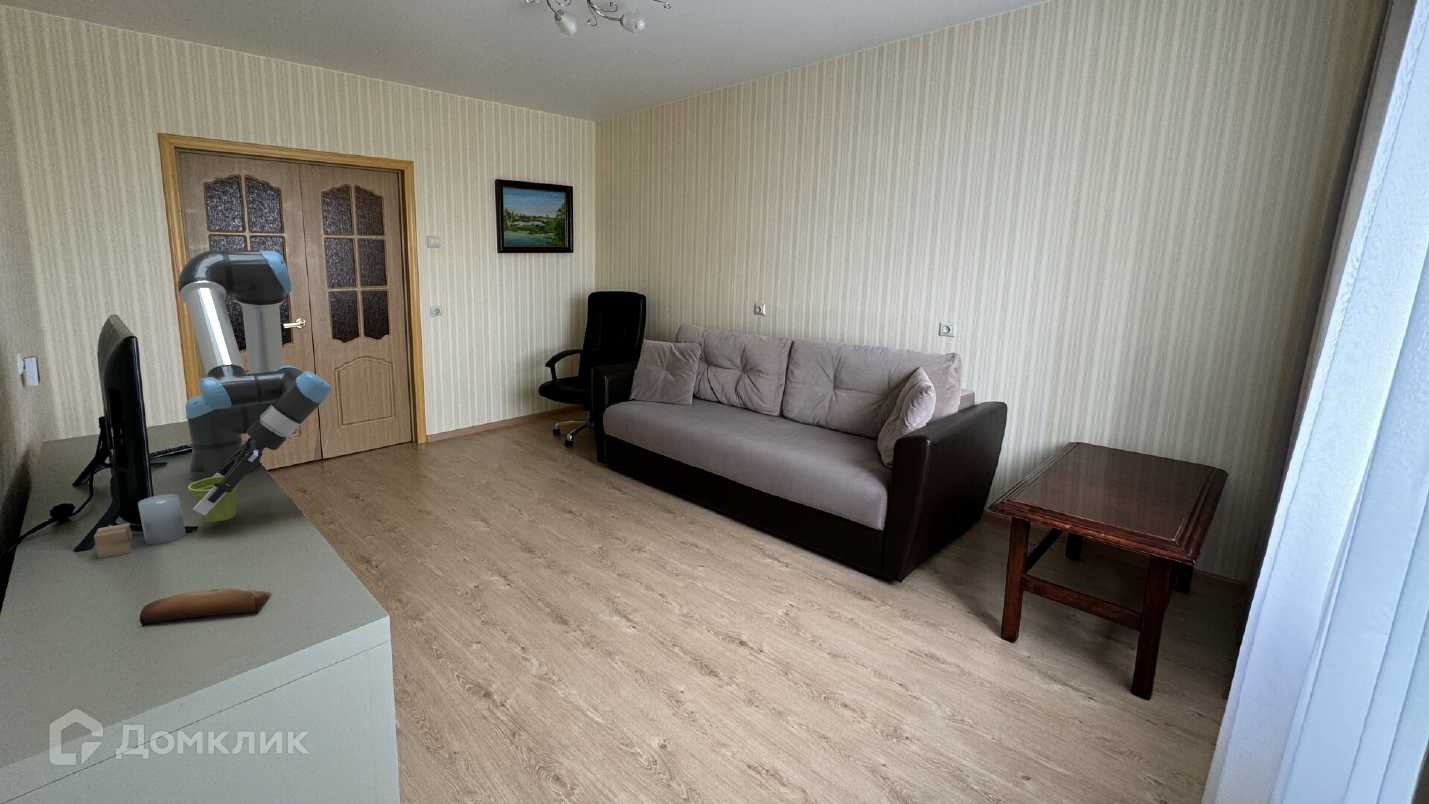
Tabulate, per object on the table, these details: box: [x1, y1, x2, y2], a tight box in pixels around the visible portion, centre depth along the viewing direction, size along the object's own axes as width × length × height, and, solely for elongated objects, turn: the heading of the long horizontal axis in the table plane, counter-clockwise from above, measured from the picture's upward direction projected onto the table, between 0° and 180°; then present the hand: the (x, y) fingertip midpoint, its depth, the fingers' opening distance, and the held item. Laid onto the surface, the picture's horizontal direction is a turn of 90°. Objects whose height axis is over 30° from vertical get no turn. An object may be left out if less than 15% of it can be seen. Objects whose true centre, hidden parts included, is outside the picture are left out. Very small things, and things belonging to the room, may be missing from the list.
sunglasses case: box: [139, 588, 274, 625], centre depth 118 cm, size 18×7×7 cm
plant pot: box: [188, 476, 238, 523], centre depth 153 cm, size 9×9×9 cm
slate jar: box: [137, 493, 187, 545], centre depth 147 cm, size 7×7×9 cm
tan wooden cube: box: [93, 523, 134, 559], centre depth 140 cm, size 5×5×5 cm
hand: (200, 504), depth 151 cm, fingers closed on plant pot, 9 cm apart
